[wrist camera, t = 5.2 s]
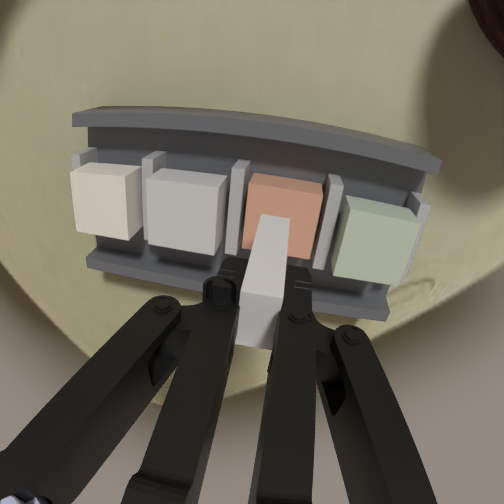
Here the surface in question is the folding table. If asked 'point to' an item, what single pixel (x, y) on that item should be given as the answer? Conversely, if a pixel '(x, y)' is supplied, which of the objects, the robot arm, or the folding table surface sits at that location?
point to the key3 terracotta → (284, 210)
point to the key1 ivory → (108, 199)
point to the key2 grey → (186, 210)
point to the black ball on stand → (491, 20)
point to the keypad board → (239, 175)
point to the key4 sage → (373, 241)
